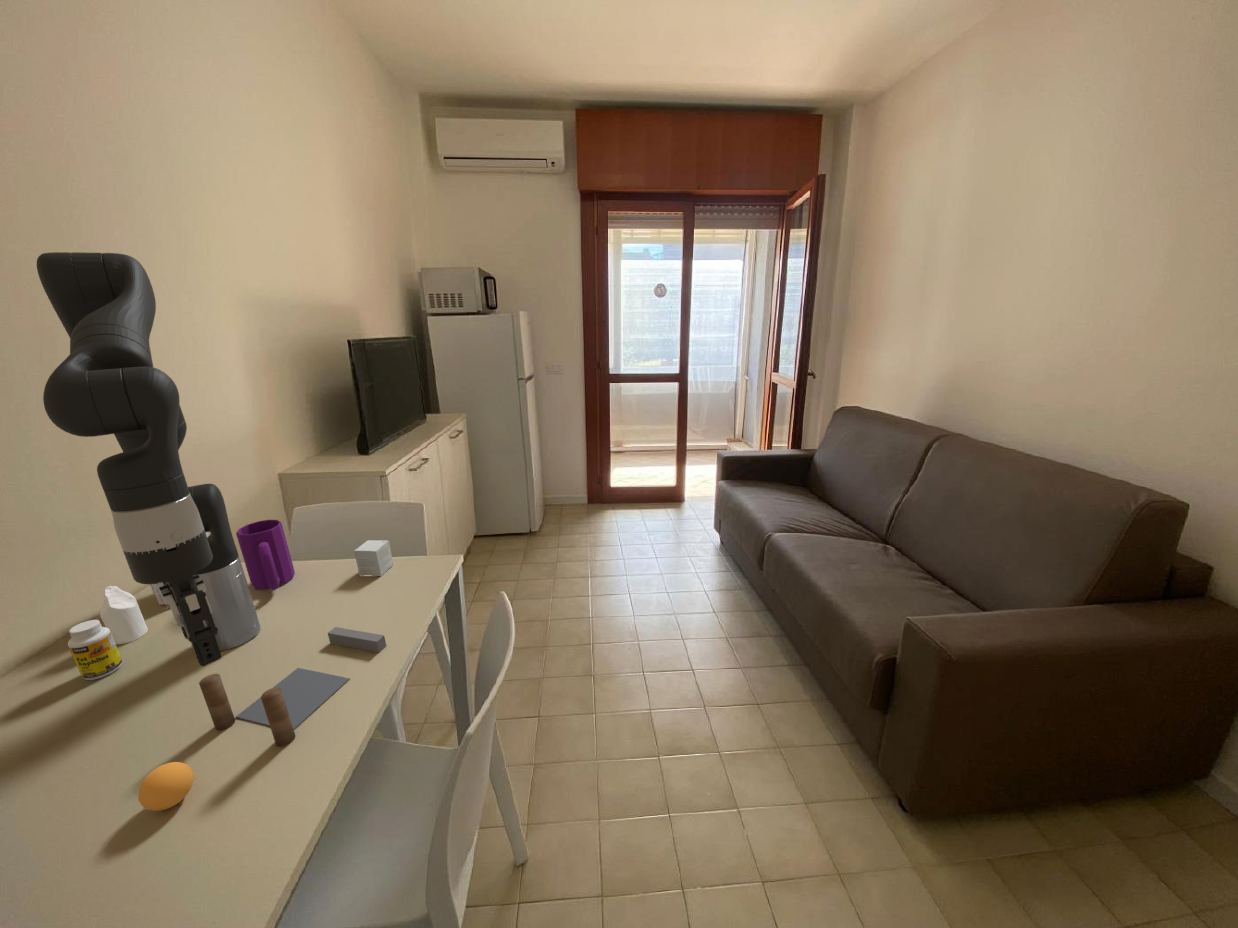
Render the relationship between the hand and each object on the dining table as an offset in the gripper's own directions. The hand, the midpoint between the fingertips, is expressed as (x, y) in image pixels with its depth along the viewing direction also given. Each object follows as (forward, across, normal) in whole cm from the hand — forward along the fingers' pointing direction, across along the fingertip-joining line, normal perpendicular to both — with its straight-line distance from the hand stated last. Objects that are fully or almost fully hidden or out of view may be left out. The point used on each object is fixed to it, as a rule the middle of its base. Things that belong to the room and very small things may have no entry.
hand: (203, 648), depth 65 cm
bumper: (+22, -18, +23) cm, 37 cm away
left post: (+22, -15, 0) cm, 27 cm away
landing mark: (+22, -12, +10) cm, 27 cm away
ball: (+20, -4, -8) cm, 22 cm away
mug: (+22, -59, +20) cm, 66 cm away
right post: (+22, -4, +6) cm, 23 cm away
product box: (+22, -46, +39) cm, 64 cm away
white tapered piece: (+22, -61, -6) cm, 65 cm away
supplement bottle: (+22, -50, -11) cm, 56 cm away
